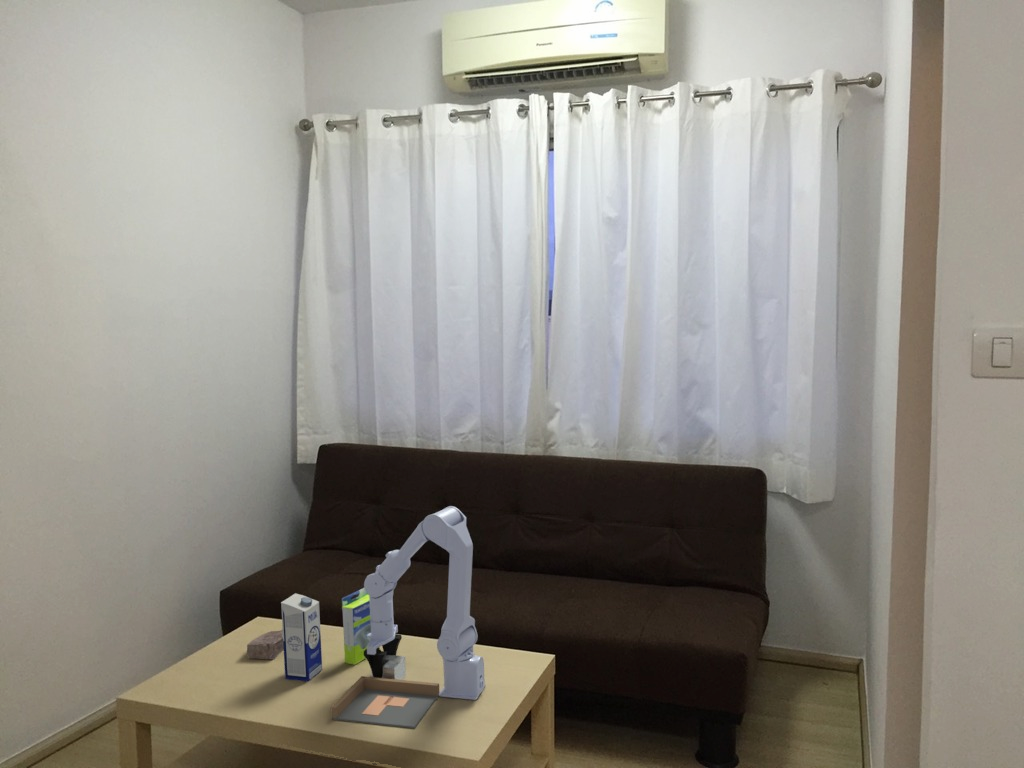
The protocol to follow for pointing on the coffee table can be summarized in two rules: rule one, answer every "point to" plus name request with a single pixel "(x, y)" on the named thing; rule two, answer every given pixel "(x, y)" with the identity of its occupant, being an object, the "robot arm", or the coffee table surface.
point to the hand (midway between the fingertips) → (384, 670)
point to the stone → (266, 645)
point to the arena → (386, 702)
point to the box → (356, 626)
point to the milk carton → (301, 637)
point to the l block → (394, 667)
